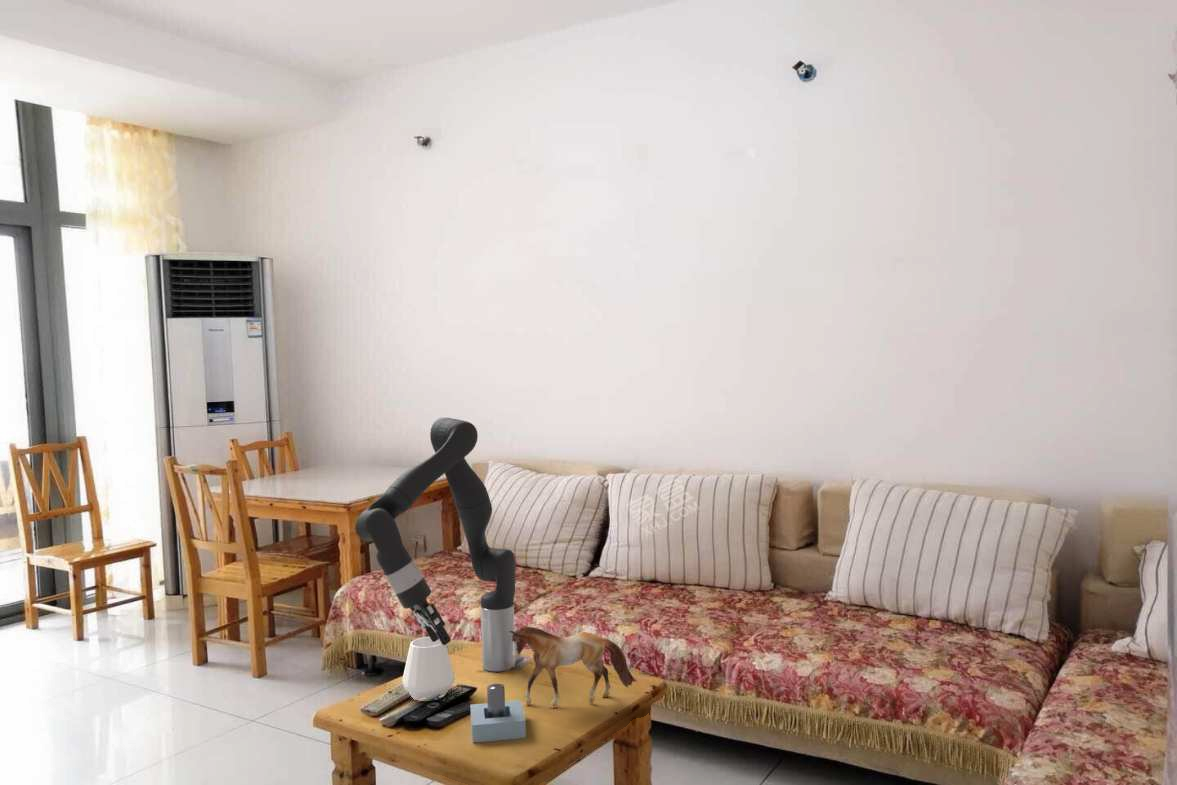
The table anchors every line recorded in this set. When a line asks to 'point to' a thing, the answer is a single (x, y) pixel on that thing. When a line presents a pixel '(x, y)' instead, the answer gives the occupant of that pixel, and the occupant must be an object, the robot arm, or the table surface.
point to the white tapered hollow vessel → (427, 669)
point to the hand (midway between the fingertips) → (441, 641)
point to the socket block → (498, 723)
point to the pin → (496, 700)
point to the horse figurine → (570, 656)
